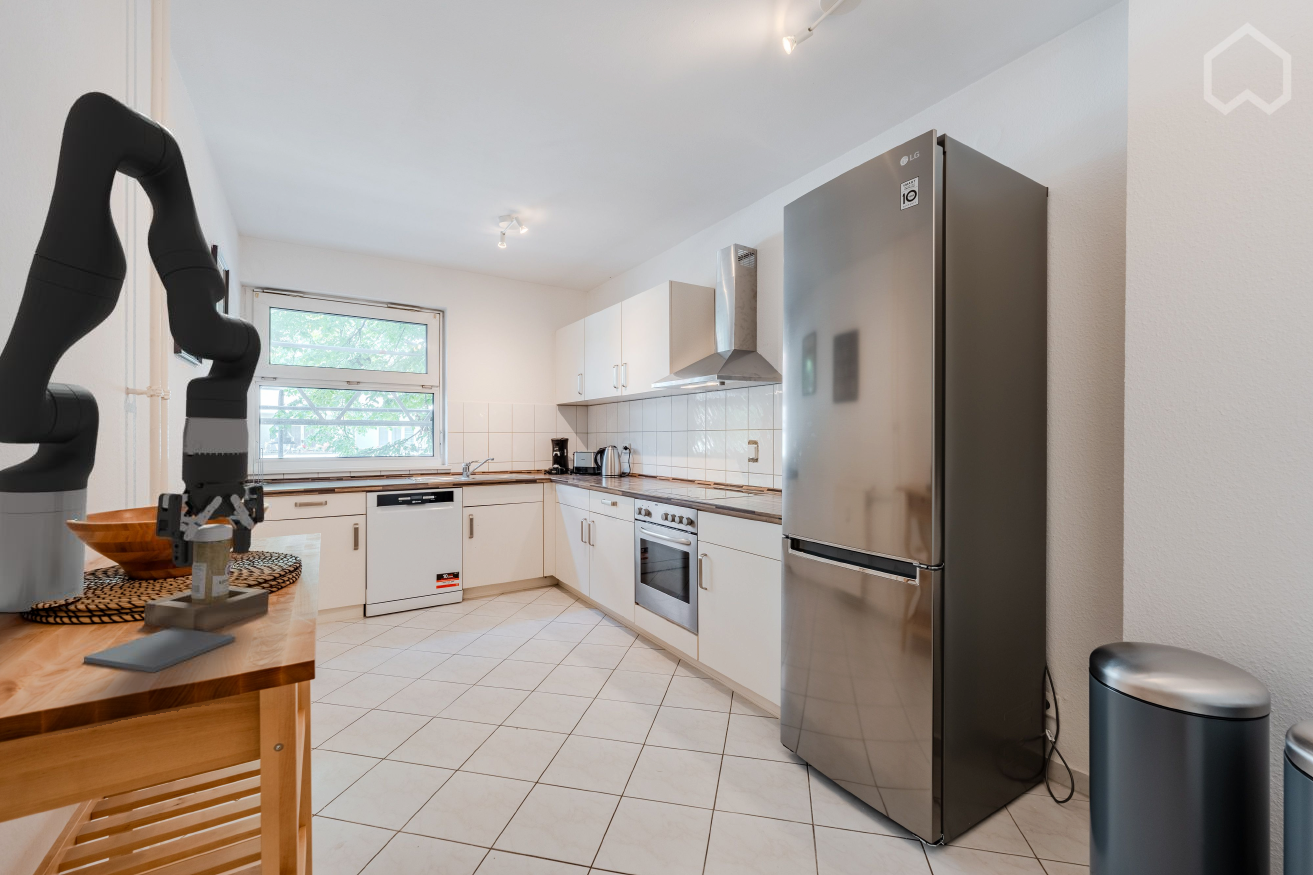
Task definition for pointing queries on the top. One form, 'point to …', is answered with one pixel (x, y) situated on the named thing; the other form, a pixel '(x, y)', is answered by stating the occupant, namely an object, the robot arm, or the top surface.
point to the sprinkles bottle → (211, 564)
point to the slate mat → (159, 649)
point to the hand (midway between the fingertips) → (213, 559)
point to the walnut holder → (205, 610)
